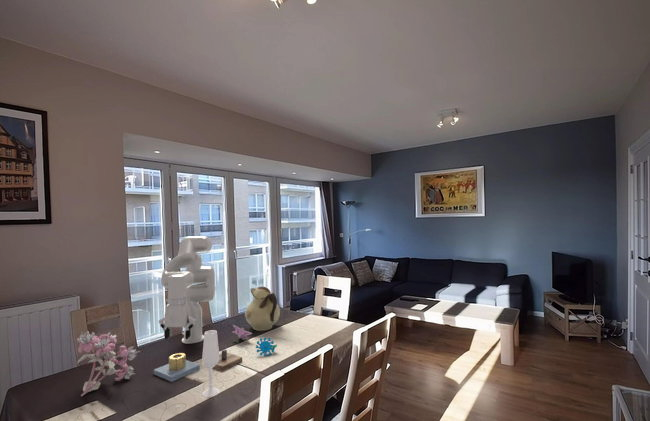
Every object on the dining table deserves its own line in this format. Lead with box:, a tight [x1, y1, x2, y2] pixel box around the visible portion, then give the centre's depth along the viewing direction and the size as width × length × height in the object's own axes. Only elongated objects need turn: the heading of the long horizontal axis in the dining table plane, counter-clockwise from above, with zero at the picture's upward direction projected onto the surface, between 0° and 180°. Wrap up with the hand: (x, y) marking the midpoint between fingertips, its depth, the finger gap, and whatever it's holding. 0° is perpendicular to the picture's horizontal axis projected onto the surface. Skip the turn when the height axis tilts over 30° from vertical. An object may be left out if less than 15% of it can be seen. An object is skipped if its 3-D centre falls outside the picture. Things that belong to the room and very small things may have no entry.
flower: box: [77, 330, 141, 397], centre depth 136 cm, size 20×22×25 cm
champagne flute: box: [201, 329, 221, 398], centre depth 129 cm, size 7×7×24 cm
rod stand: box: [212, 349, 243, 372], centre depth 155 cm, size 12×12×6 cm
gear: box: [255, 336, 278, 358], centre depth 167 cm, size 11×6×10 cm
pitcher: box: [244, 286, 281, 332], centre depth 208 cm, size 22×24×25 cm
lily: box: [231, 324, 253, 345], centre depth 183 cm, size 12×12×10 cm
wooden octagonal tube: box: [168, 352, 187, 370], centre depth 147 cm, size 7×7×5 cm
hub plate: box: [153, 356, 201, 383], centre depth 147 cm, size 14×14×6 cm
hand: (177, 338), depth 148 cm, fingers open, 9 cm apart
